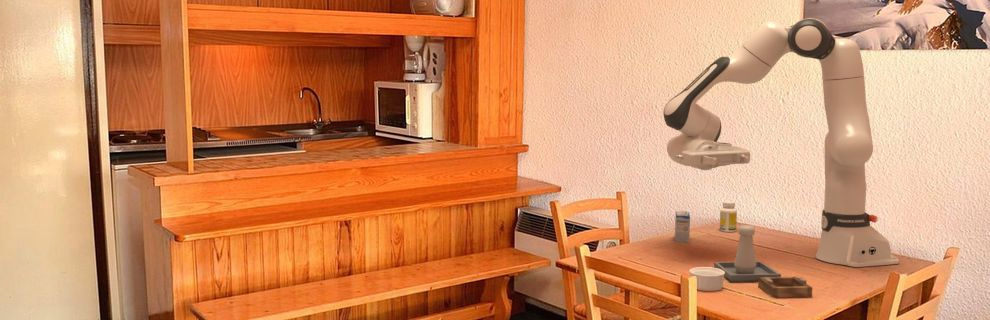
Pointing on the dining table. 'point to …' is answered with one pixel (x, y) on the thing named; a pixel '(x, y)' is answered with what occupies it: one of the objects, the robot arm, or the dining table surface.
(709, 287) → the ramekin
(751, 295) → the dining table surface
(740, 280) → the tray
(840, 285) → the dining table surface
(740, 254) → the salt shaker
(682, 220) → the medicine box
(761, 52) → the robot arm
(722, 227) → the supplement bottle
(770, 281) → the tray
